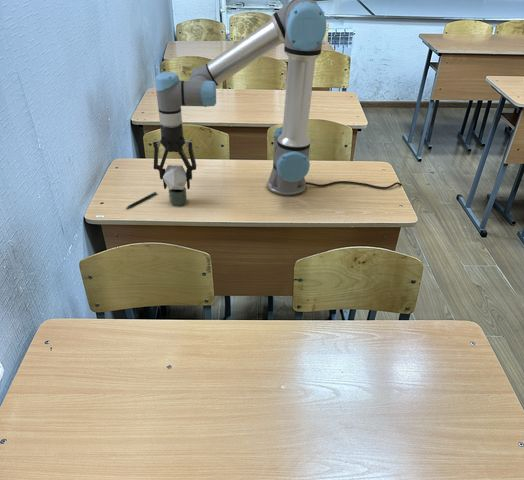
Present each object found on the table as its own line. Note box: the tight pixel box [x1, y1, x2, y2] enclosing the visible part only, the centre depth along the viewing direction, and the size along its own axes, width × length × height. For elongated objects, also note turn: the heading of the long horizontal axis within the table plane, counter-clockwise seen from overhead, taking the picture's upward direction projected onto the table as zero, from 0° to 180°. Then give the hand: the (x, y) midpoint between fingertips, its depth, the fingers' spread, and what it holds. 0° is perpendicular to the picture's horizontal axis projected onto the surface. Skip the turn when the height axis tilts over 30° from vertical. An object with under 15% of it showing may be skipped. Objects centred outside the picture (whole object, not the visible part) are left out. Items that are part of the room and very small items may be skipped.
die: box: [162, 164, 187, 191], centre depth 186 cm, size 8×9×10 cm
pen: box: [126, 191, 158, 209], centre depth 192 cm, size 1×16×1 cm, turn 146°
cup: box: [168, 186, 188, 207], centre depth 191 cm, size 6×6×6 cm
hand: (177, 187), depth 188 cm, fingers closed on die, 8 cm apart
